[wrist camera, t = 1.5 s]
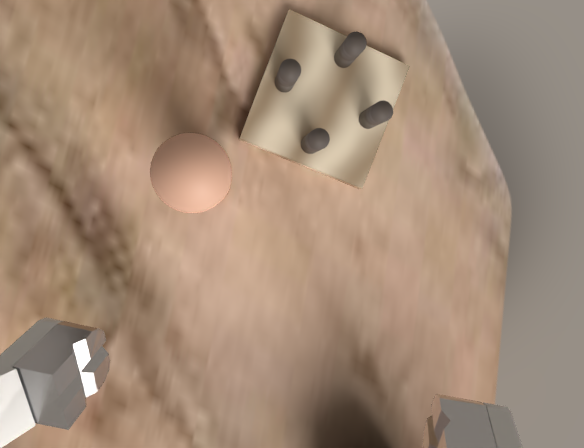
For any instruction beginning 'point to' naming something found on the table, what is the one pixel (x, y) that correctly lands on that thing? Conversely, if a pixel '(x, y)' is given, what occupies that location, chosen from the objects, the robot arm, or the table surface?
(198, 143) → the post
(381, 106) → the peg stand
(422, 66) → the table surface
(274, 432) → the table surface
